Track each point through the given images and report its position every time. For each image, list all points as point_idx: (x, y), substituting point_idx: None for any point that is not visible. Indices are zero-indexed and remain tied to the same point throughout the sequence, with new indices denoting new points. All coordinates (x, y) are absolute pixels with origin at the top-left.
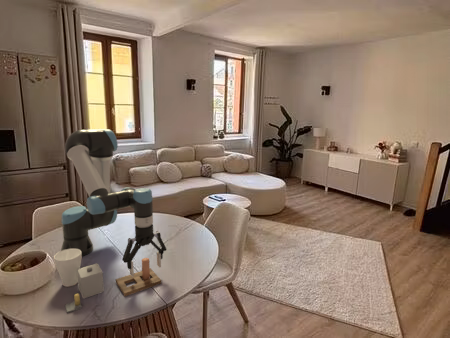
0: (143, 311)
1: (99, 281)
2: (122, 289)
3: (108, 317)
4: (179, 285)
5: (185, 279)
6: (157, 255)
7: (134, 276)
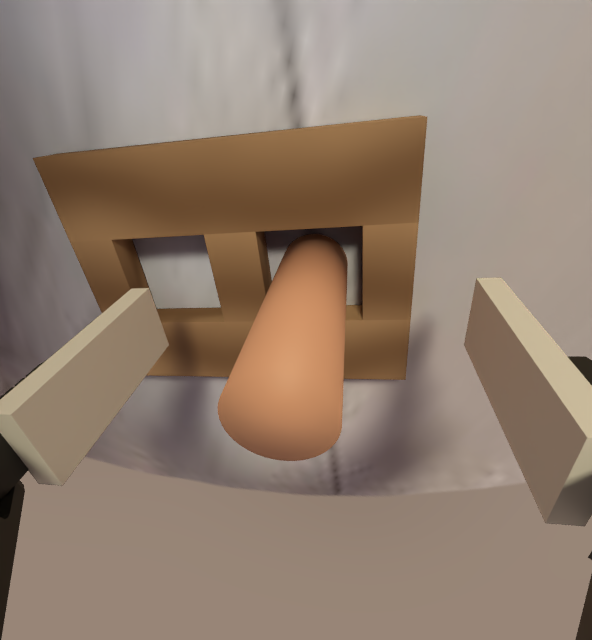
0: (225, 483)
1: None
2: None
3: None
4: (491, 437)
5: None
6: (539, 408)
7: (211, 206)
